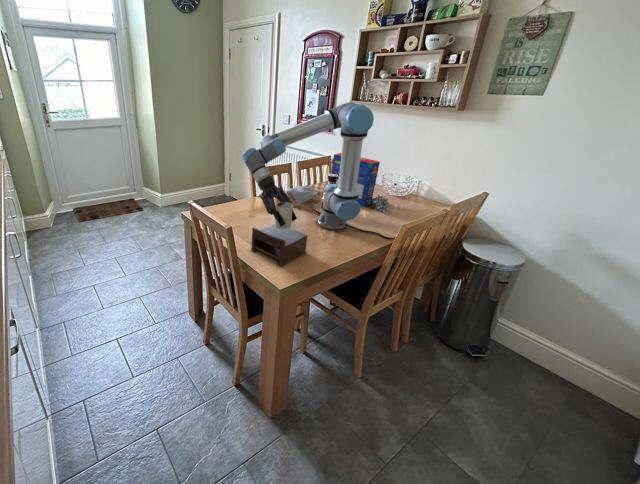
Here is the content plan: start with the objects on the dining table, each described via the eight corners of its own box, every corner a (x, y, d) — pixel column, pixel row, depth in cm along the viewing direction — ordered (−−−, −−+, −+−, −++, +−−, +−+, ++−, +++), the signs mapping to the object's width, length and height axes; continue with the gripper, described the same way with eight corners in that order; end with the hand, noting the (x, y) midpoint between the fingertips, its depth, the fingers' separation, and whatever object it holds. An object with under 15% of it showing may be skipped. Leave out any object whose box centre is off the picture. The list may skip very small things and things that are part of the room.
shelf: (276, 238, 165) (277, 217, 160) (305, 252, 154) (308, 229, 149) (251, 250, 154) (252, 227, 149) (281, 266, 142) (283, 241, 137)
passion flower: (380, 220, 202) (380, 209, 193) (366, 211, 209) (365, 200, 199) (392, 208, 204) (393, 196, 194) (377, 199, 210) (377, 188, 201)
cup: (292, 222, 152) (294, 202, 147) (289, 229, 145) (291, 209, 141) (276, 220, 154) (277, 200, 149) (273, 227, 147) (274, 206, 143)
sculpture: (299, 192, 229) (300, 179, 225) (323, 199, 217) (324, 185, 213) (276, 201, 212) (277, 187, 208) (301, 209, 200) (302, 194, 196)
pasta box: (371, 204, 212) (379, 161, 200) (364, 206, 207) (372, 163, 195) (335, 192, 231) (341, 152, 220) (328, 194, 227) (333, 154, 215)
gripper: (274, 179, 159) (297, 219, 155) (244, 188, 146) (269, 232, 142) (283, 171, 153) (308, 212, 150) (252, 179, 140) (279, 225, 137)
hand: (289, 222), depth 146 cm, fingers closed on cup, 8 cm apart
